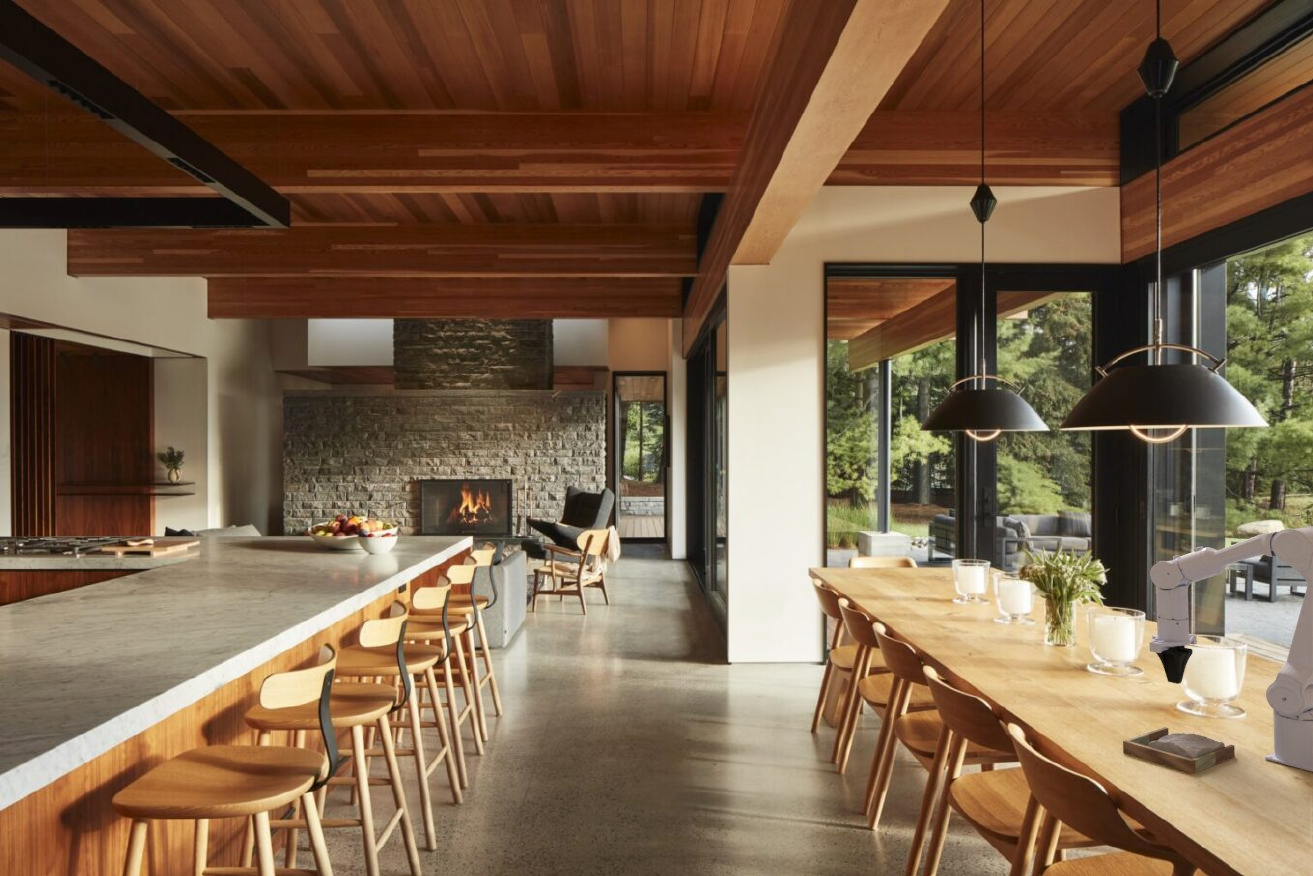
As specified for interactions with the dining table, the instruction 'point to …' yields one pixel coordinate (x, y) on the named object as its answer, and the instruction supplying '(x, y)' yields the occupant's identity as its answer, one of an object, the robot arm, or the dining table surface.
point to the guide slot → (1141, 749)
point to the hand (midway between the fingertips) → (1174, 682)
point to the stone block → (1186, 745)
